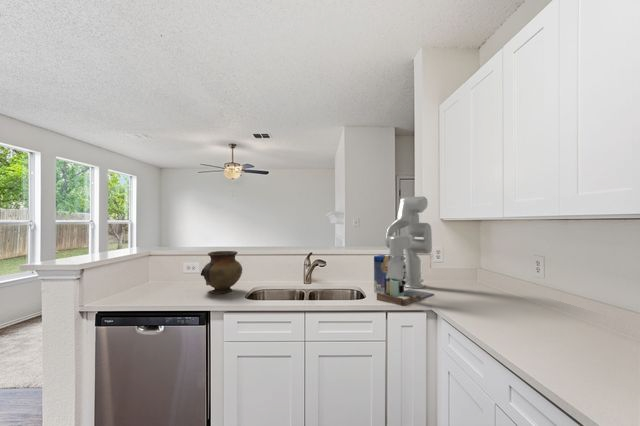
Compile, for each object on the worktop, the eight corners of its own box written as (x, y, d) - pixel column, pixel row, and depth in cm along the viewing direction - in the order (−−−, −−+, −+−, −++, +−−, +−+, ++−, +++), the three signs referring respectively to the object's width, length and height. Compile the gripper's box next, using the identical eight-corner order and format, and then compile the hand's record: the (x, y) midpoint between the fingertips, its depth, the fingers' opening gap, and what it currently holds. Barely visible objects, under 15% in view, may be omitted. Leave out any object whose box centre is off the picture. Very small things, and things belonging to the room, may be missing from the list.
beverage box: (390, 290, 193) (390, 255, 193) (385, 293, 183) (384, 257, 184) (380, 288, 196) (379, 254, 197) (374, 292, 187) (373, 256, 187)
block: (396, 293, 172) (396, 279, 172) (404, 294, 168) (403, 280, 169) (390, 295, 168) (389, 280, 168) (397, 296, 164) (397, 281, 165)
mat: (409, 290, 191) (409, 289, 191) (433, 294, 179) (433, 293, 179) (396, 294, 182) (396, 292, 182) (421, 299, 170) (421, 297, 170)
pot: (204, 299, 173) (203, 255, 173) (197, 291, 193) (196, 252, 193) (247, 292, 185) (246, 252, 186) (237, 286, 206) (236, 249, 206)
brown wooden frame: (396, 294, 181) (396, 288, 182) (420, 299, 170) (420, 292, 170) (376, 299, 169) (376, 293, 169) (401, 305, 157) (401, 298, 157)
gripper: (414, 259, 165) (414, 293, 164) (387, 256, 178) (388, 288, 177) (406, 260, 160) (406, 295, 159) (380, 257, 173) (380, 290, 172)
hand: (397, 291), depth 168 cm, fingers closed on block, 5 cm apart
